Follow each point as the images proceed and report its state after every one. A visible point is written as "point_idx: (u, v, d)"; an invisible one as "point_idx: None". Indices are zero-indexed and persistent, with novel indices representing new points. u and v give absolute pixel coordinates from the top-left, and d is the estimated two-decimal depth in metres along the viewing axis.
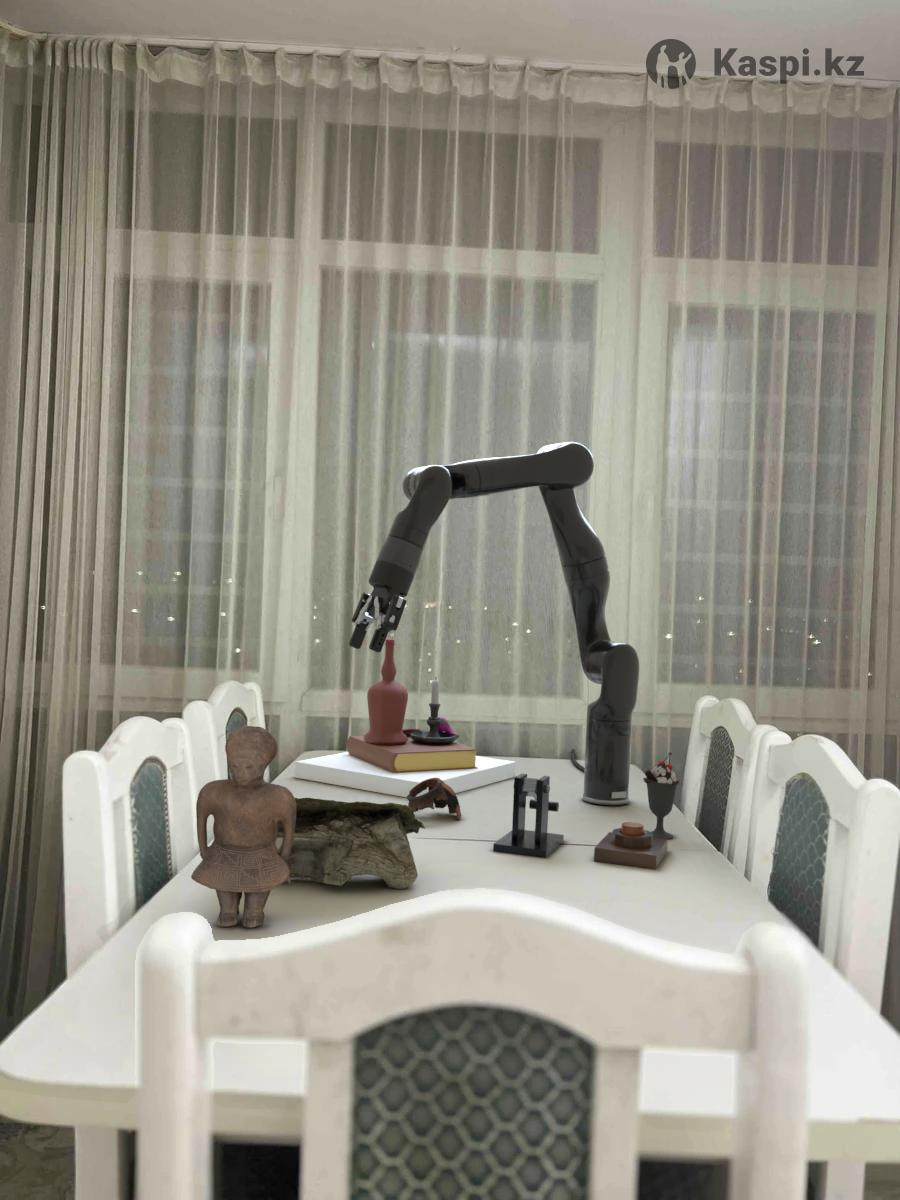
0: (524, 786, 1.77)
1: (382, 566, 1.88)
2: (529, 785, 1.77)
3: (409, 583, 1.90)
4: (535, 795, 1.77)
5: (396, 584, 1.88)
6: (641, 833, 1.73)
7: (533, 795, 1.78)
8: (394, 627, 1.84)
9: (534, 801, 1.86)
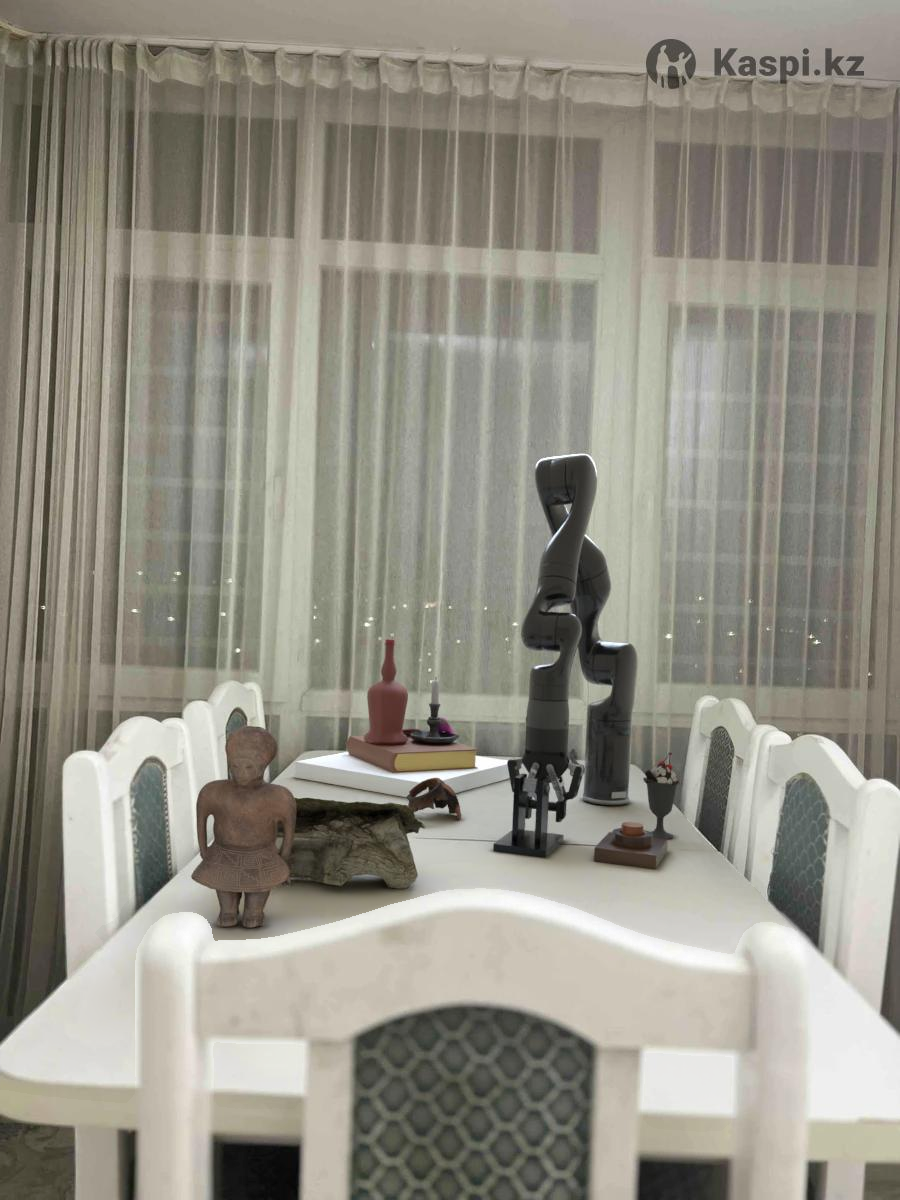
0: (524, 786, 1.77)
1: (551, 735, 1.82)
2: (529, 785, 1.77)
3: None
4: (535, 795, 1.77)
5: (566, 747, 1.84)
6: (641, 833, 1.73)
7: (533, 795, 1.78)
8: (576, 794, 1.85)
9: (534, 801, 1.86)
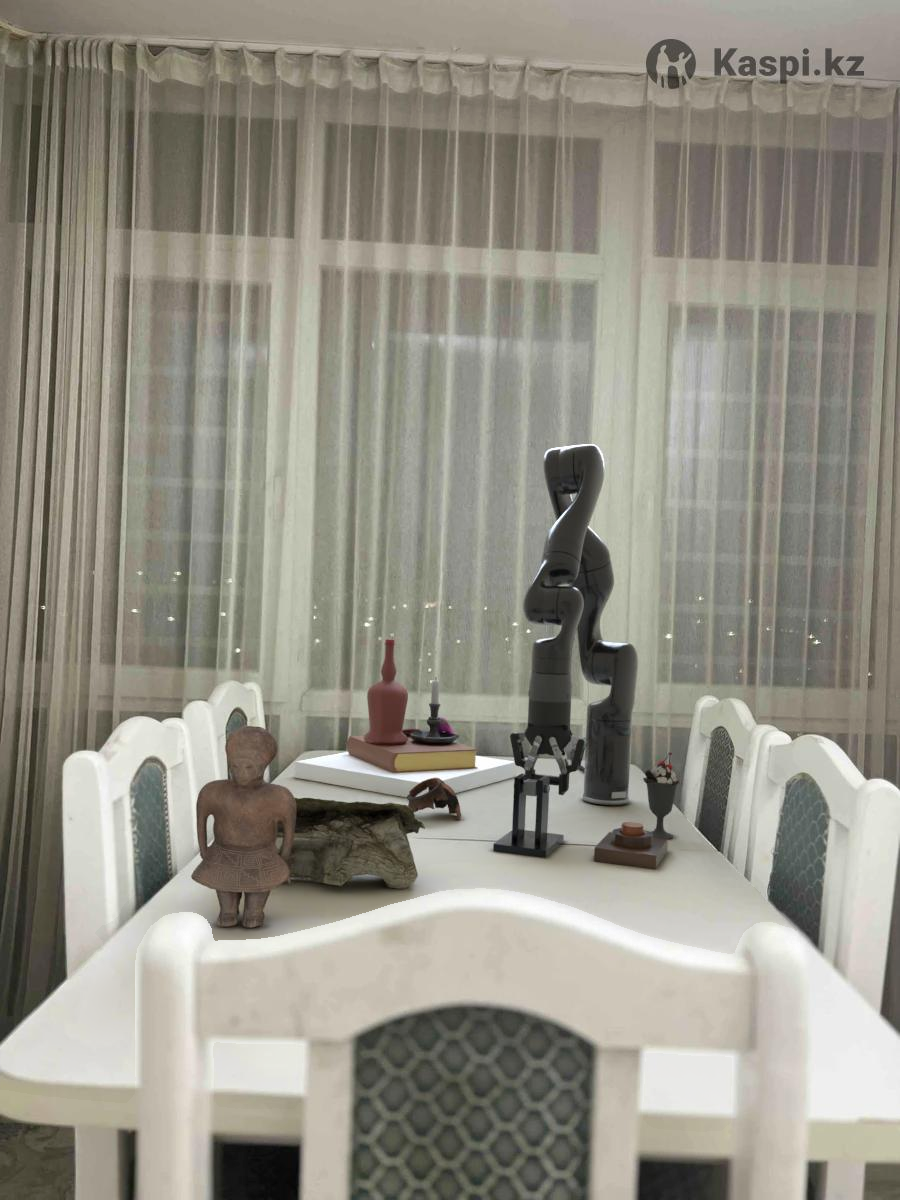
0: (524, 790, 1.77)
1: (554, 708, 1.83)
2: (529, 789, 1.76)
3: None
4: None
5: (568, 720, 1.85)
6: (641, 833, 1.73)
7: None
8: (578, 767, 1.86)
9: (536, 777, 1.87)
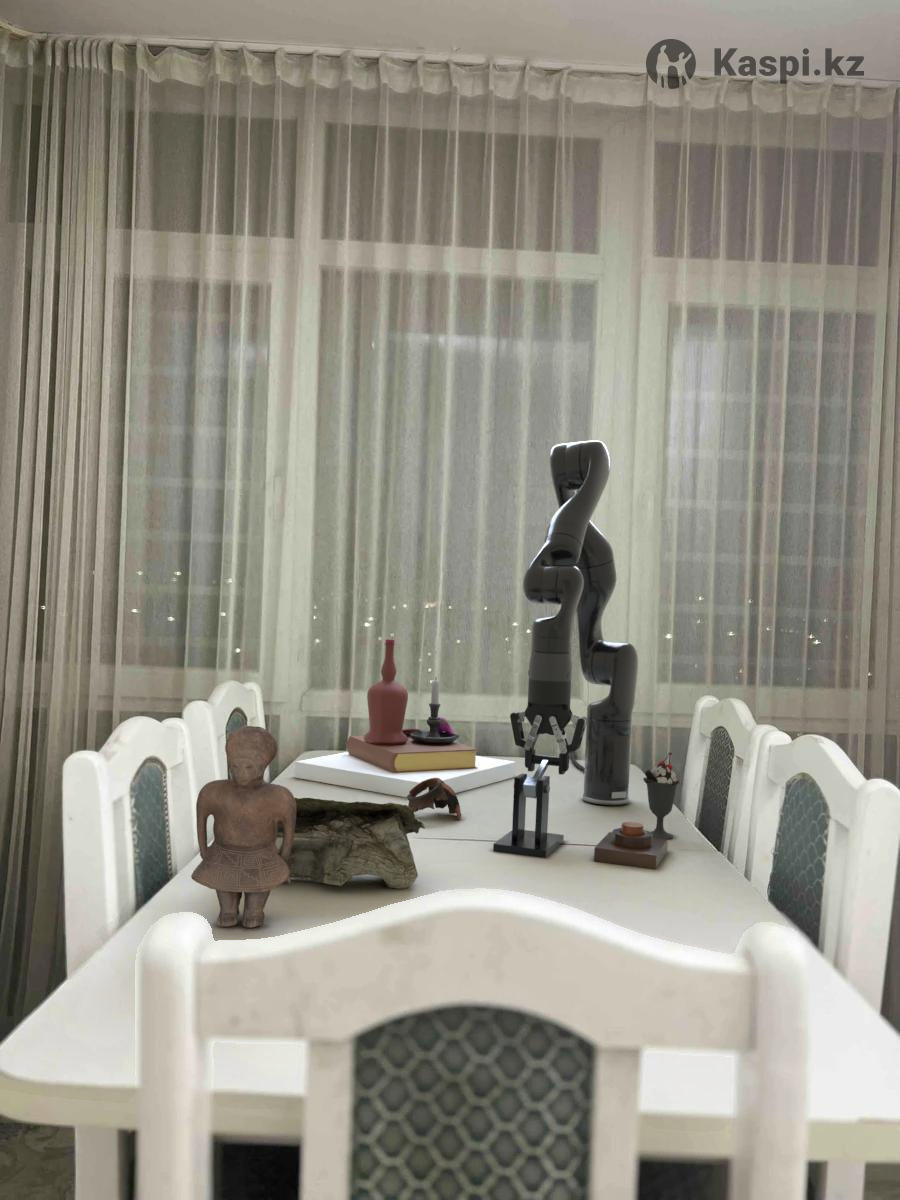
0: (524, 792, 1.77)
1: (554, 687, 1.83)
2: (529, 792, 1.77)
3: None
4: None
5: (569, 699, 1.85)
6: (641, 833, 1.73)
7: None
8: (578, 746, 1.85)
9: (536, 760, 1.86)
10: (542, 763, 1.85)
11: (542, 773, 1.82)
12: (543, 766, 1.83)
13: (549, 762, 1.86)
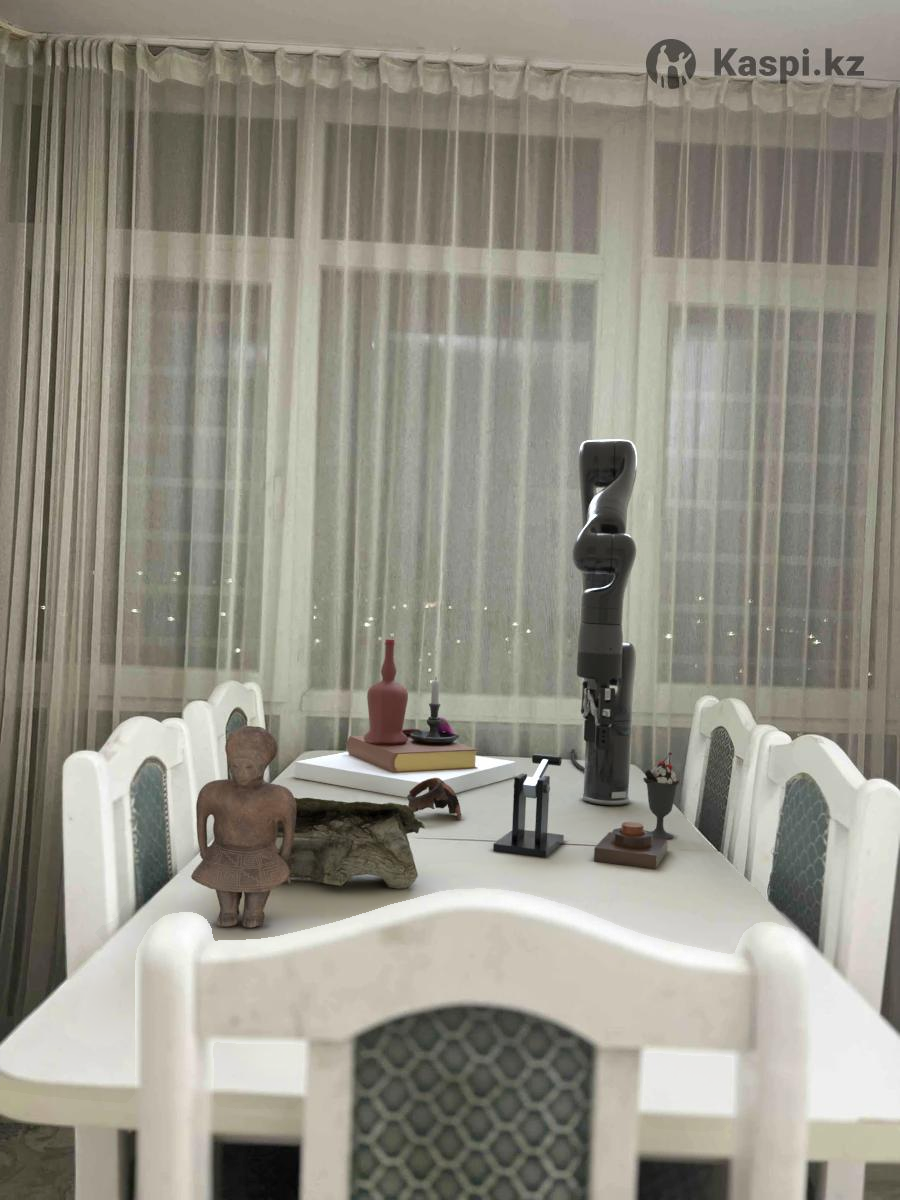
0: (524, 793, 1.77)
1: (582, 658, 1.77)
2: (529, 792, 1.77)
3: (616, 666, 1.76)
4: None
5: (601, 673, 1.75)
6: (641, 833, 1.73)
7: None
8: (611, 721, 1.72)
9: (536, 759, 1.86)
10: (542, 763, 1.85)
11: (542, 773, 1.82)
12: (543, 766, 1.83)
13: (549, 762, 1.86)
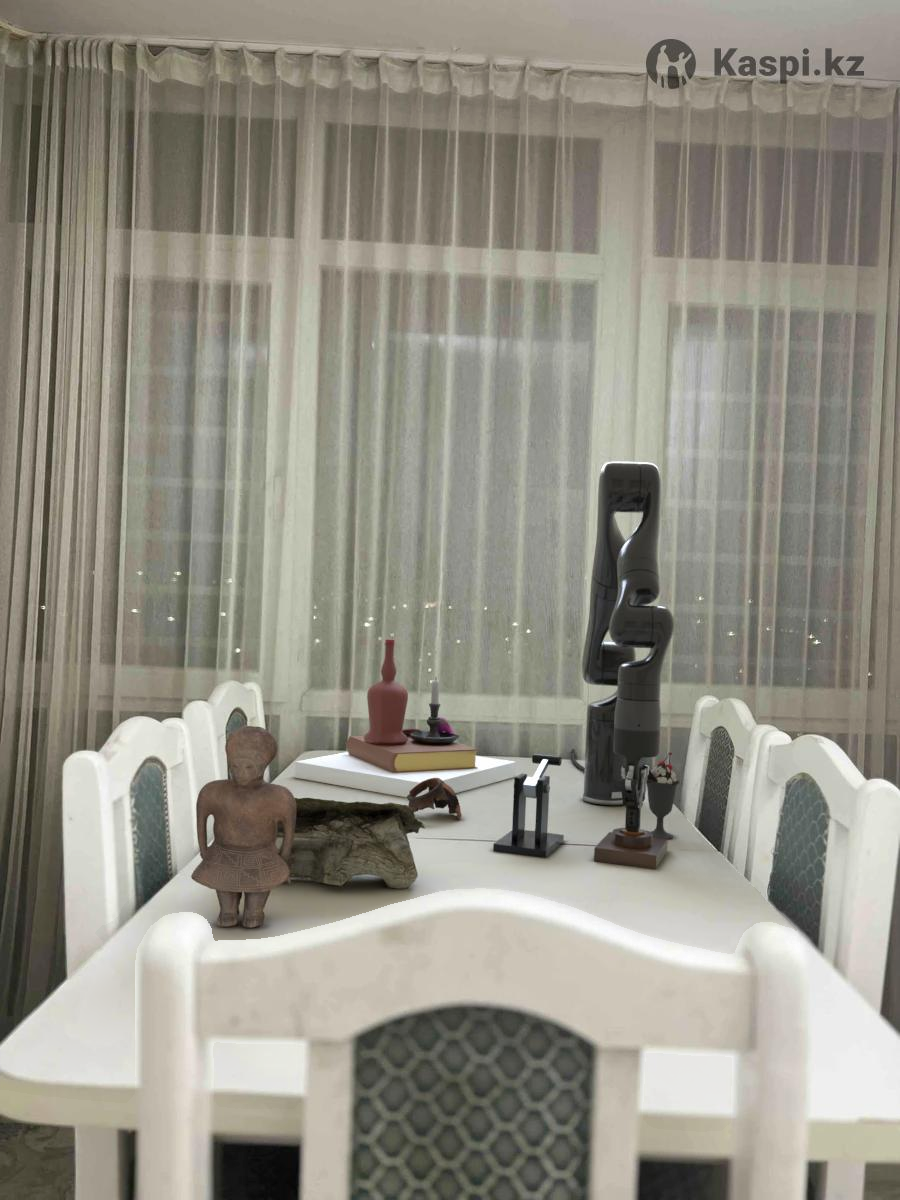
0: (524, 793, 1.77)
1: (614, 733, 1.73)
2: (529, 792, 1.77)
3: (647, 743, 1.70)
4: None
5: (629, 750, 1.70)
6: None
7: None
8: (634, 804, 1.71)
9: (536, 759, 1.86)
10: (542, 763, 1.85)
11: (542, 773, 1.82)
12: (543, 766, 1.83)
13: (549, 762, 1.86)
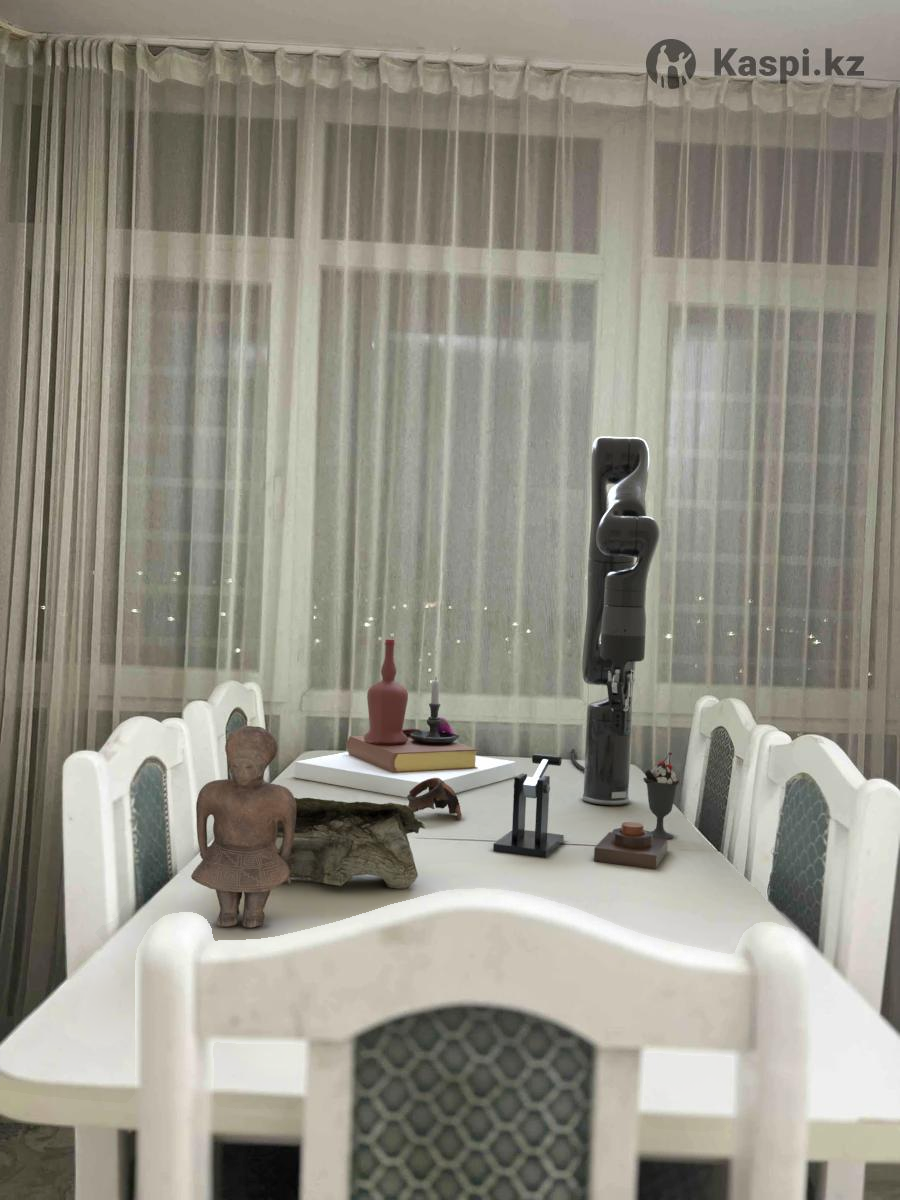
0: (524, 793, 1.77)
1: (601, 639, 1.80)
2: (529, 792, 1.77)
3: (632, 648, 1.77)
4: None
5: (615, 654, 1.77)
6: (641, 833, 1.73)
7: None
8: (620, 706, 1.77)
9: (536, 759, 1.86)
10: (542, 763, 1.85)
11: (542, 773, 1.82)
12: (543, 766, 1.83)
13: (549, 762, 1.86)
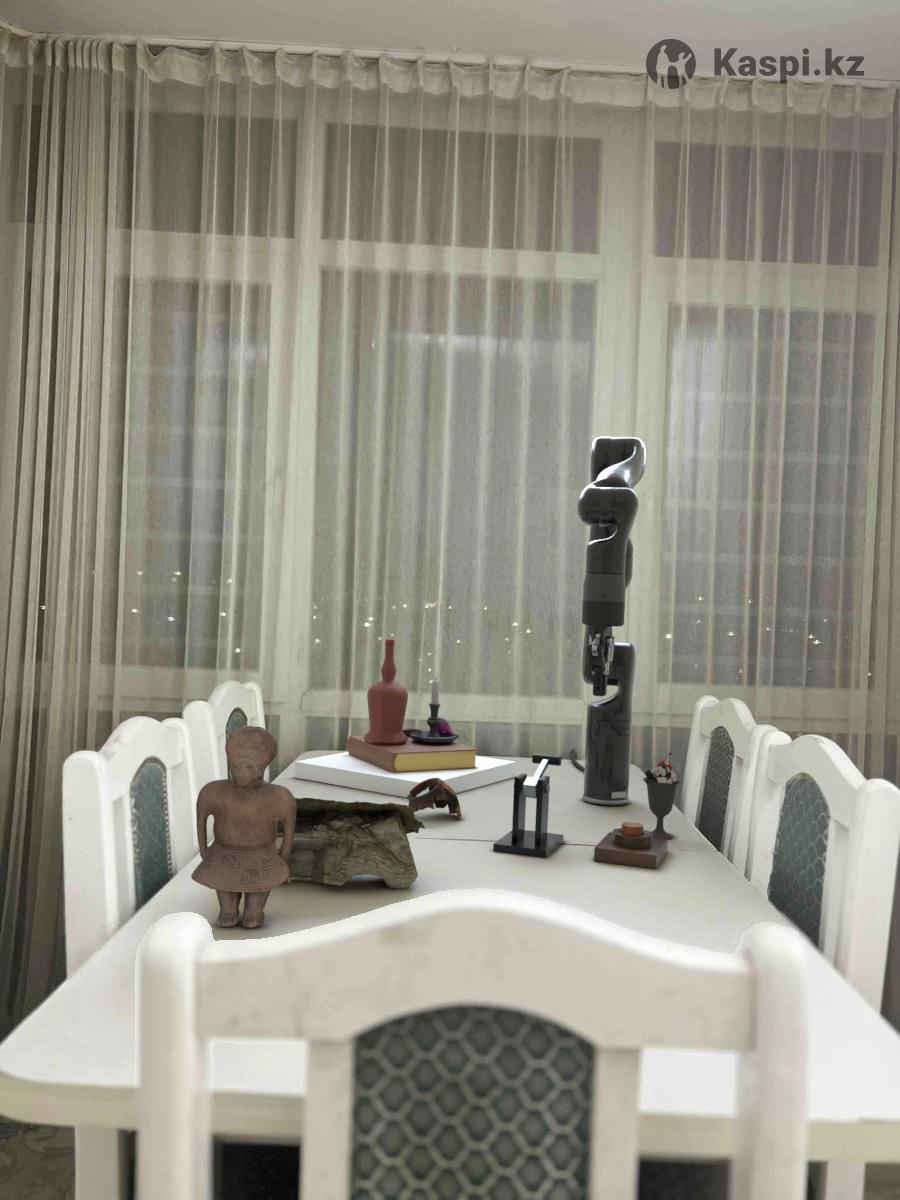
0: (524, 793, 1.77)
1: (583, 606, 1.87)
2: (529, 792, 1.77)
3: (612, 613, 1.84)
4: None
5: (595, 619, 1.84)
6: (641, 833, 1.73)
7: None
8: (601, 669, 1.85)
9: (536, 759, 1.86)
10: (542, 763, 1.85)
11: (542, 773, 1.82)
12: (543, 766, 1.83)
13: (549, 762, 1.86)
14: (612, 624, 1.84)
